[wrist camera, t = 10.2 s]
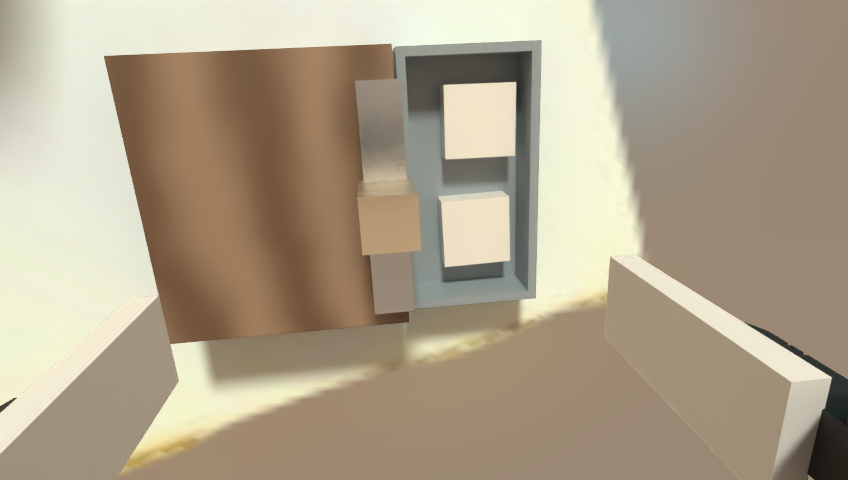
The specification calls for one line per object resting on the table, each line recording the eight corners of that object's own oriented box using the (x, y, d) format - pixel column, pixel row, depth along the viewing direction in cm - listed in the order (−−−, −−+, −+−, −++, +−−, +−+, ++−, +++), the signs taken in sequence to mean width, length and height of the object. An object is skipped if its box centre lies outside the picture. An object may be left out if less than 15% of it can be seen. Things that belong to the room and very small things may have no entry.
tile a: (510, 260, 37) (503, 252, 39) (509, 196, 35) (502, 190, 37) (445, 267, 37) (441, 258, 38) (441, 202, 35) (437, 196, 37)
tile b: (514, 155, 35) (507, 152, 36) (516, 81, 33) (508, 82, 35) (445, 159, 34) (441, 155, 36) (443, 84, 33) (439, 85, 35)
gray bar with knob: (371, 298, 33) (371, 351, 26) (351, 81, 29) (346, 79, 22) (415, 294, 33) (426, 345, 27) (402, 79, 29) (412, 76, 22)
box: (407, 288, 40) (411, 309, 36) (392, 51, 34) (394, 46, 30) (520, 278, 40) (535, 298, 37) (522, 45, 35) (541, 40, 31)
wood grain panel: (200, 305, 38) (170, 343, 32) (150, 61, 33) (103, 55, 27) (403, 288, 40) (409, 321, 34) (387, 51, 34) (391, 43, 28)
